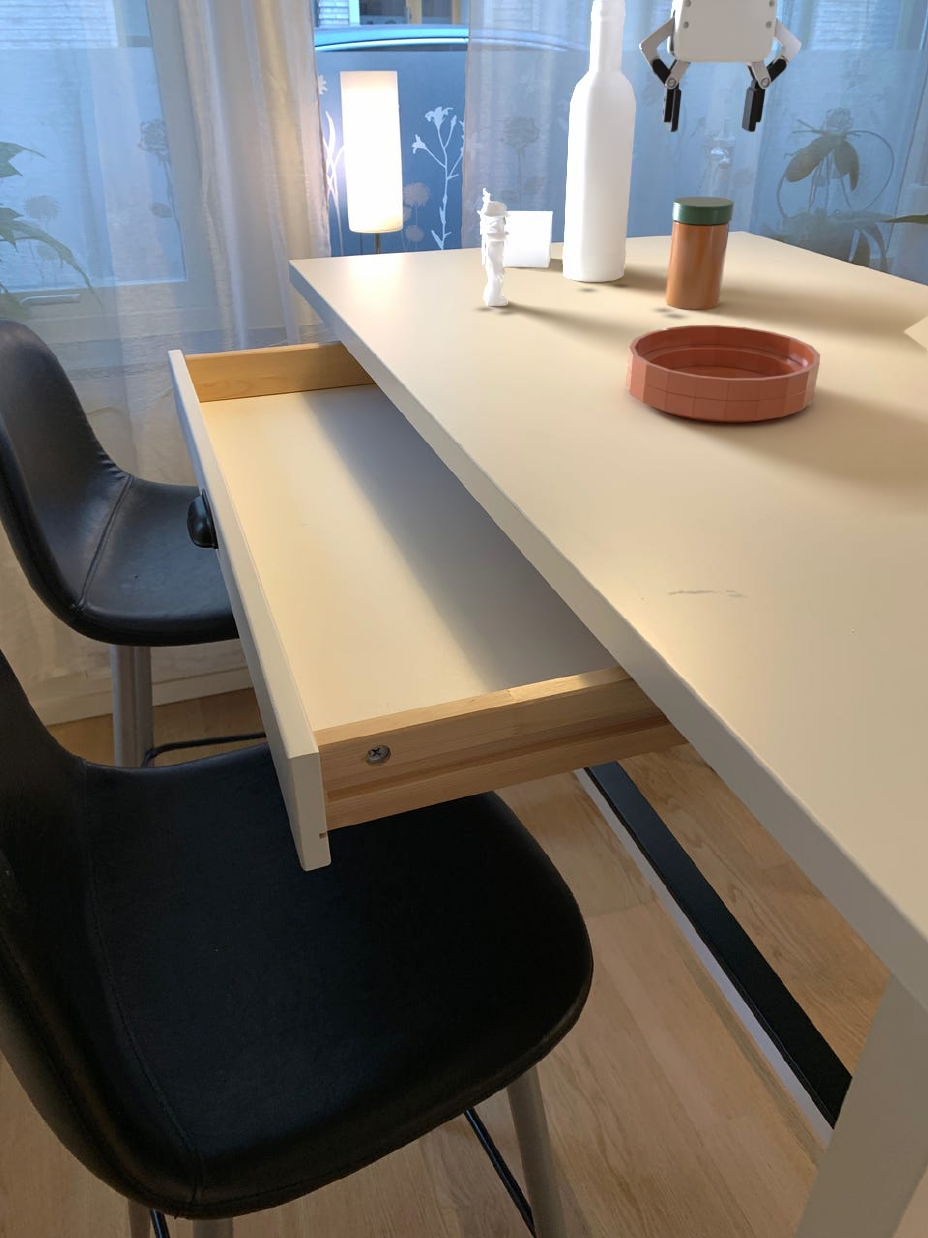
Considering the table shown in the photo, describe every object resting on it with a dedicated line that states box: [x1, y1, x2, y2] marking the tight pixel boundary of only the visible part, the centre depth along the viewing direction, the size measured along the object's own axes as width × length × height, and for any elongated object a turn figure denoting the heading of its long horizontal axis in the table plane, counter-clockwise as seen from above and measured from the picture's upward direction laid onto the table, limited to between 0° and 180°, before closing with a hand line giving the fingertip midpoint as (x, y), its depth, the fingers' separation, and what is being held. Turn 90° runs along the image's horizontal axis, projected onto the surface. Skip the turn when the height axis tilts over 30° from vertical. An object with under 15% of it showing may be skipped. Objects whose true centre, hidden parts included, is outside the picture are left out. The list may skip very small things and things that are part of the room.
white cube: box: [503, 210, 553, 269], centre depth 132 cm, size 6×6×6 cm
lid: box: [671, 196, 735, 224], centre depth 109 cm, size 7×6×2 cm
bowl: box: [625, 324, 821, 424], centre depth 86 cm, size 16×16×4 cm
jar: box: [664, 219, 731, 311], centre depth 112 cm, size 6×6×11 cm
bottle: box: [562, 0, 637, 283], centre depth 118 cm, size 8×8×30 cm
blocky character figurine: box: [477, 188, 512, 307], centre depth 112 cm, size 9×4×12 cm, turn 2°
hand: (709, 129), depth 105 cm, fingers open, 7 cm apart
